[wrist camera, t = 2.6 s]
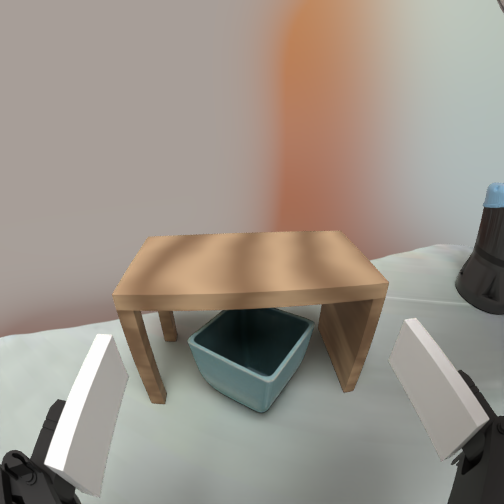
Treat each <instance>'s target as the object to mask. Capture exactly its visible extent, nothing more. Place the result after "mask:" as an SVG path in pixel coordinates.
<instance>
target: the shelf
mask: <svg viewBox="0 0 504 504" xmlns="http://www.w3.org/2000/svg"><path fill="white" fill-rule="evenodd" d="M388 285H389V282H388V281H387V280H386V279H385V277H384V276H383V275H382V274H381V273H380V272H379V271H378V270H377V269H376V268H375V266H374V265H373V264H372V263H371V262H370V261H369V260H368V259H367V258H366V257H365V256H364V255H363V254H362V252H360V250H359V249H358V248H357V247H356V246H355V245H354V244H353V243H352V242H351V241H350V240H349V239H348V238H347V237H346V236H345V235H344V234H343V233H342V232H341V231H306V232H305V231H304V232H264V233H232V234H203V235H178V236H156V237H148V238H147V239H146V241H145V243H144V244H143V246H142V247H141V249H140V250H139V252H138V253H137V255H136V256H135V258H134V259H133V261H132V263H131V264H130V266H129V267H128V269H127V271H126V272H125V274H124V276H123V277H122V279H121V280H120V282H119V284H118V285H117V287H116V289H115V291H114V292H113V294H112V296H113V300H114V303H115V306H116V310H117V313H118V316H119V319H120V322H121V325H122V328H123V331H124V334H125V337H126V340H127V343H128V346H129V348H130V351H131V354H132V356H133V359H134V362H135V364H136V367H137V369H138V372H139V374H140V377H141V379H142V381H143V384H144V386H145V388H146V391H147V393H148V395H149V398H150V400H151V402H152V403H156V404H165V401H166V395H167V393H166V391H165V388H164V385H163V382H162V379H161V377H160V374H159V371H158V368H157V365H156V362H155V359H154V355H153V352H152V349H151V346H150V343H149V339H148V336H147V332H146V329H145V325H144V322H143V318H142V314H141V311H158V313H159V318H160V322H161V326H162V330H163V334H164V338H165V341H176V338H177V330H176V326H175V321H174V316H173V311H197V310H233V309H256V308H275V307H291V306H305V305H317V304H322V306H321V312H320V318H319V324H318V329H319V331H320V334H321V336H322V339H323V341H324V344H325V346H326V349H327V351H328V354H329V356H330V359H331V361H332V364H333V366H334V369H335V372H336V374H337V377H338V379H339V382H340V384H341V387H342V390H343V392H350V391H353V390H354V388H355V385H356V383H357V380H358V378H359V375H360V373H361V370H362V367H363V365H364V362H365V359H366V357H367V354H368V351H369V348H370V345H371V342H372V339H373V336H374V333H375V330H376V327H377V324H378V321H379V317H380V314H381V311H382V307H383V304H384V300H385V296H386V293H387V289H388Z"/></svg>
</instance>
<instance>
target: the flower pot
mask: <svg viewBox="0 0 504 504" xmlns="http://www.w3.org/2000/svg"><path fill="white" fill-rule="evenodd" d="M314 325H315V323H314V322H313V321H311V320H309V319H307V318H304V317H301V316H298V315H294V314H291V313H288V312H285V311H282V310H279V309H277V308H256V309H233V310H222V311H221V312H220V313H219V314H218V315H216V316H215V317H214V318H213V319H212V320H210V321H209V322H208V323H207V324H206V325H204V326H203V327H202V328H201V329H199V330H198V331H197V332H195V333H194V334H192V335H191V336H190V337H189V339H188V340H187V341H188V344H189V346H190V349H191V351H192V354H193V357H194V359H195V361H196V364H197V366H198V368H199V371H200V372H201V374H202V376H203V377H204V379H205V380H206V381H207V382H208V383H209V384H210V385H211V386H212V387H213V388H215V389H216V390H218V391H219V392H221V393H222V394H224V395H226V396H228V397H230V398H231V399H233V400H235V401H237V402H239V403H241V404H243V405H245V406H247V407H249V408H251V409H253V410H255V411H257V412H265V411H267V410H268V409H269V407H270V406H271V405H272V403H273V402H274V401H275V399H276V398H277V396H278V395H279V394H280V392H281V391H282V390H283V388H284V387H285V385H286V384H287V383H288V381H289V380H290V378H291V377H292V375H293V374H294V373H295V371H296V370H297V368H298V367H299V365H300V364H301V362H302V360H303V358H304V355H305V352H306V349H307V346H308V344H309V341H310V337H311V334H312V331H313V328H314Z"/></svg>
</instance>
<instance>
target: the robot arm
mask: <svg viewBox="0 0 504 504" xmlns="http://www.w3.org/2000/svg"><path fill="white" fill-rule="evenodd" d="M497 1H498V3H499V5H500V8H501V9H502V11H503V13H504V0H497ZM483 206H484V209H483V214H482V219H481V223H480V227H479V231H478V236H477V239H476V243H475V247H474V250H473V252H472V254H471V255H470V257H469V258H468V260H467V261H466V263H465V264H464V266H463V267H462V269H461V270H460V272H459V274H458V277H457V280H456V288H457V290H458V292H459V293H460V294H461V295H462V297H463V298H464V299H466V300H467V301H468V302H469V303H471V304H472V305H474V306H475V307H477V308H479V309H481V310H484V311H486V312H489V313H494V314H504V183H492V184H490V185H489V187H488V189H487V193H486V198H485V202H484V203H483ZM388 362H389V363H390V365H391V367H392V369H393V370H394V372H395V374H396V376H397V377H398V379H399V381H400V383H401V384H402V386H403V388H404V390H405V392H406V393H407V395H408V397H409V399H410V401H411V403H412V404H413V406H414V408H415V410H416V412H417V414H418V416H419V418H420V419H421V421H422V423H423V425H424V427H425V429H426V431H427V433H428V435H429V437H430V439H431V441H432V443H433V445H434V447H435V449H436V451H437V453H438V455H439V457H440V460H441V462H442V461H443V460H445V459H447V458H449V457H451V456H453V455H454V454H455V453H457V452H458V451H459V450H460V449H461V448H462V449H463V452H461V453H460V454H459V455H458V456H457V457H456V458H455V459H454V460H453V461H452V463H451V465H453V464H455V463H456V462H457V461H458V460H459V462H458V463H457V464H456V466H458V468H457V472H456V476H455V480H454V483H453V487H452V490H451V494H450V497H449V500H448V503H447V504H504V416H497V415H496V414H495V413H494V411H493V410H492V408H491V407H490V405H489V404H488V402H487V401H486V399H485V398H484V396H483V395H482V393H481V392H479V389H478V388H477V386H475V383H474V382H473V381H472V379H471V378H470V377H469V376H468V375H467V374H466V373H464V372H463V371H462V370H459V371H457V370H456V369H455V367H454V366H453V364H452V363H451V362H450V360H449V359H448V358H447V356H446V355H445V354H444V352H443V351H442V350H441V348H440V347H439V346H438V345H437V343H436V342H435V341H434V339H433V338H432V337H431V336H430V334H429V333H428V332H427V331H426V329H425V328H424V327H423V326H422V324H421V323H420V322H419V321H418V319H417V318H412V319H406V320H404V321H403V324H402V327H401V330H400V332H399V335H398V337H397V340H396V343H395V345H394V348H393V350H392V352H391V355H390V357H389V359H388ZM128 378H129V376H128V373H127V371H126V369H125V366H124V364H123V361H122V359H121V356H120V354H119V351H118V349H117V346H116V343H115V341H114V338H113V335H106V334H97V336H96V338H95V340H94V342H93V344H92V346H91V348H90V350H89V352H88V354H87V356H86V358H85V360H84V363H83V365H82V367H81V369H80V371H79V374H78V376H77V378H76V380H75V383H74V385H73V387H72V389H71V392H70V394H69V397H68V399H67V401H63V400H59V399H58V400H57V401H56V402H55V403H54V404H53V405H52V406H51V407H50V409H49V412H48V414H47V416H46V420H45V421H44V424H43V428H42V429H41V431H40V434H39V437H38V439H37V442H36V445H35V448H34V451H33V453H32V456H31V458H30V459H29V458H28V457H27V456H26V455H24V454H23V453H22V452H21V451H18V450H12V451H9V452H8V453H6V455H5V456H4V457H3V461H2V465H1V464H0V504H81V502H80V500H79V498H78V497H77V495H76V494H75V488H77V489H78V490H80V491H81V492H83V493H86V494H89V495H92V496H96V497H99V498H100V494H101V489H102V483H103V478H104V473H105V468H106V463H107V459H108V454H109V450H110V445H111V441H112V437H113V433H114V429H115V425H116V421H117V417H118V413H119V409H120V406H121V402H122V399H123V395H124V392H125V388H126V385H127V381H128Z"/></svg>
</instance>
